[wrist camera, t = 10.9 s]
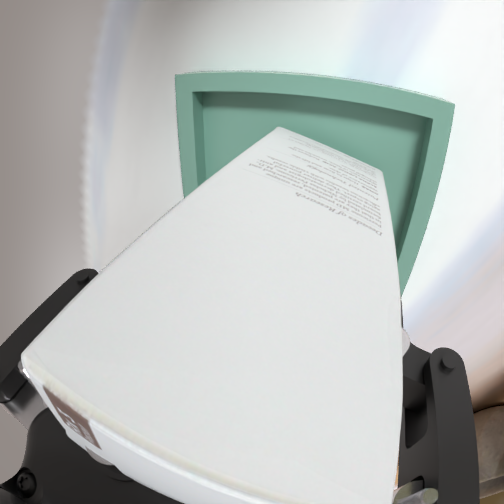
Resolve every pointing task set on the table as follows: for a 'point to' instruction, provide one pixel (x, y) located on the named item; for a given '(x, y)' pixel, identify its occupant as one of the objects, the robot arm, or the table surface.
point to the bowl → (490, 449)
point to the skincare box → (244, 338)
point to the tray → (322, 133)
